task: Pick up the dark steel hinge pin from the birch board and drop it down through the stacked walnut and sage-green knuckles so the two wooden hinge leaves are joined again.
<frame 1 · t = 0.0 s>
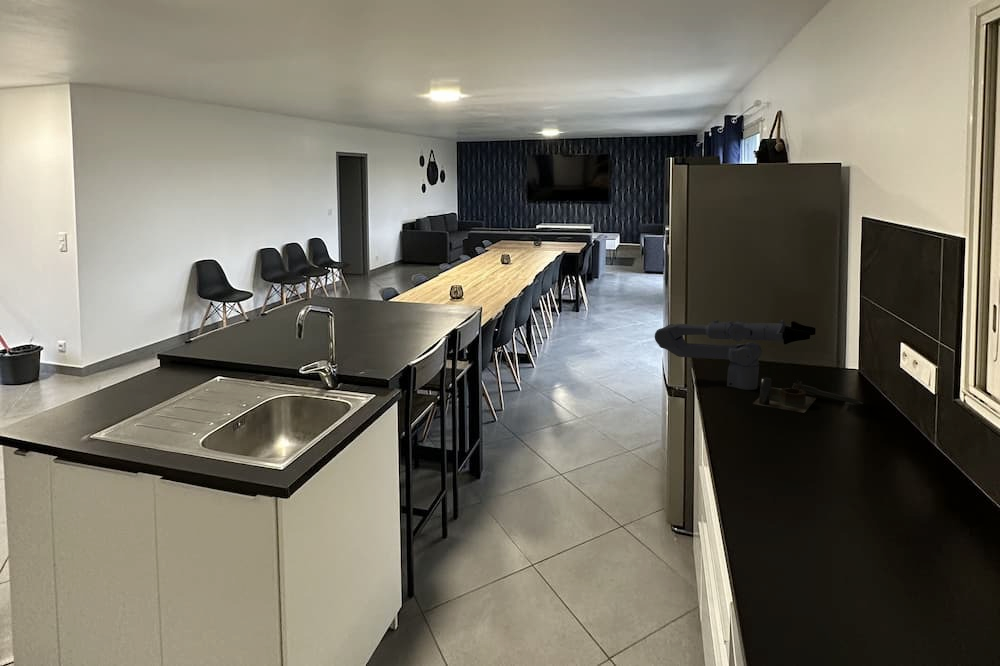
hand: (812, 333, 203), 22 cm above the countertop, tool horizontal, fingers open, 7 cm apart
steel pin: (764, 403, 201), point 1 cm above the countertop, touching hinge base
caliper: (826, 402, 204), on the countertop, touching hinge base
hinge base: (784, 403, 204), on the countertop
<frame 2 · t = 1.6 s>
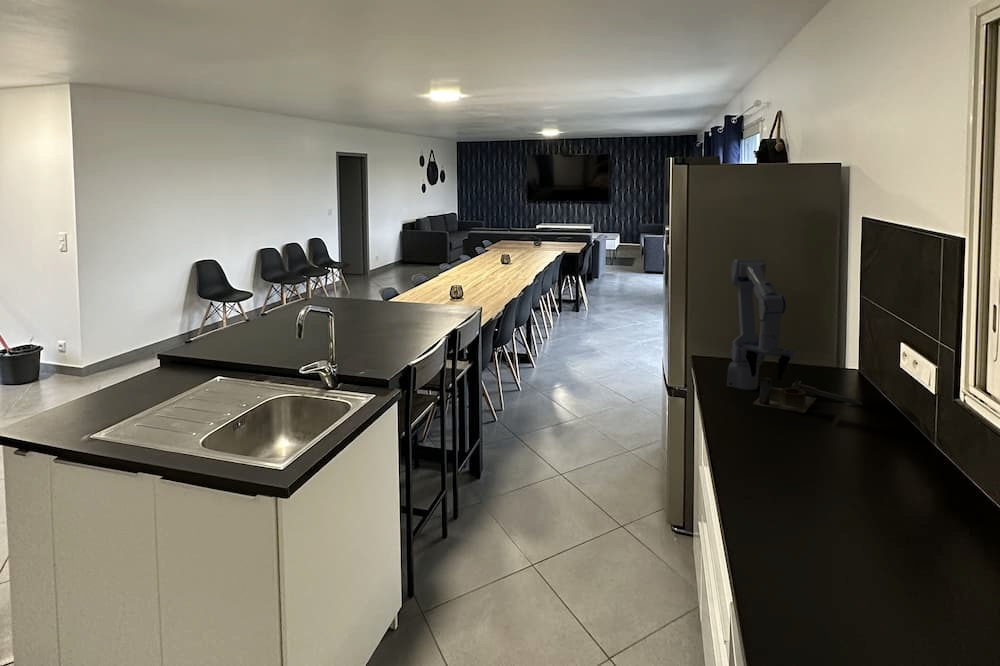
hand: (766, 377, 199), 9 cm above the countertop, tool pointing down, fingers open, 7 cm apart
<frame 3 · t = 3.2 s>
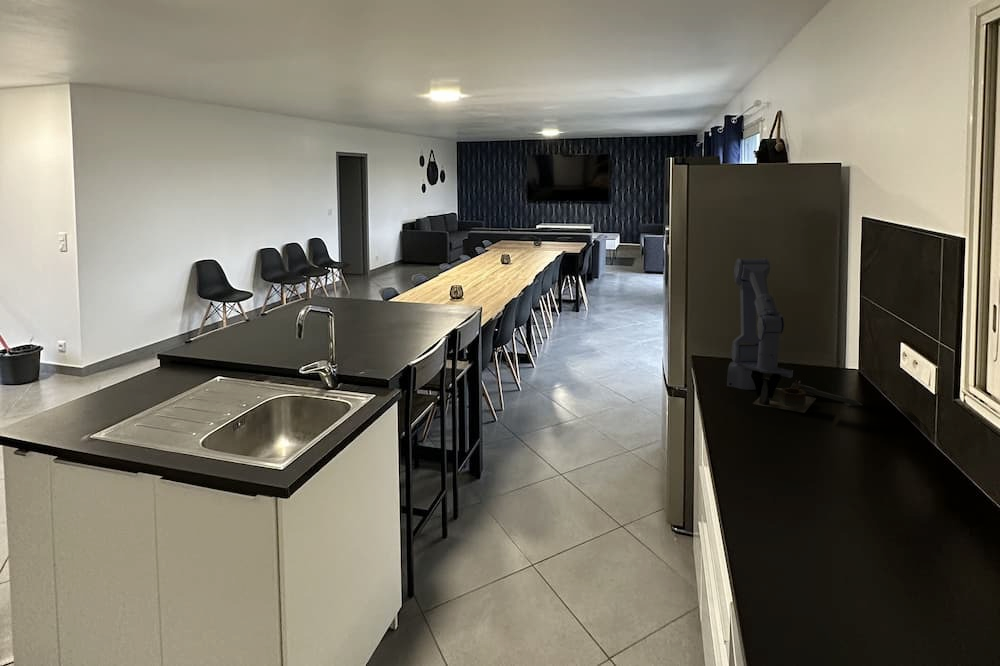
hand: (764, 396, 200), 3 cm above the countertop, tool pointing down, fingers closed on steel pin, 3 cm apart
steel pin: (764, 403, 201), point 1 cm above the countertop, touching gripper, hinge base
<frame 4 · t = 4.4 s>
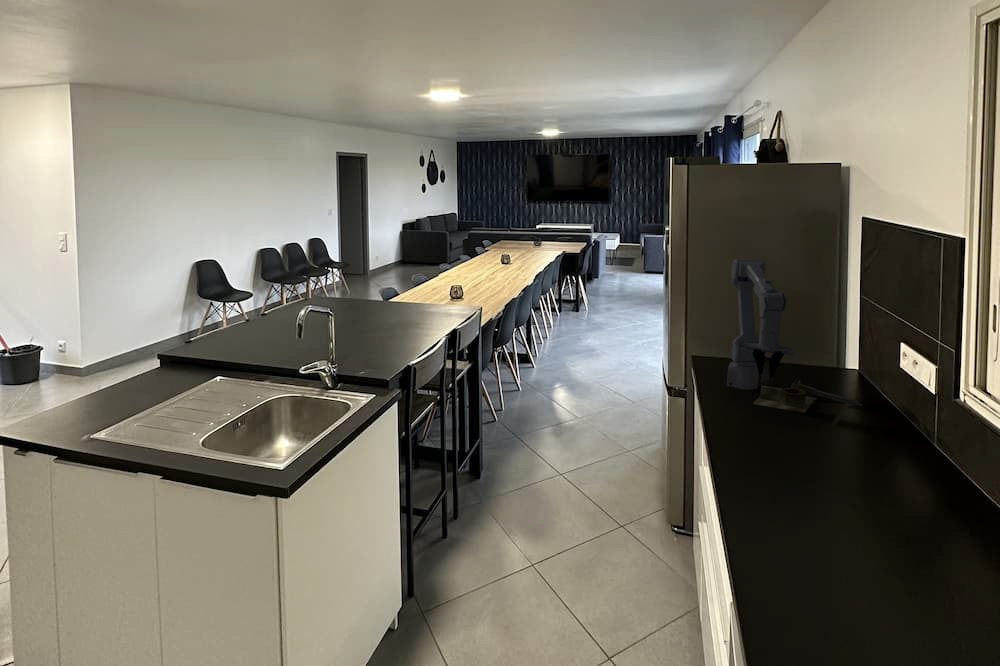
hand: (766, 375, 199), 10 cm above the countertop, tool pointing down, fingers closed on steel pin, 3 cm apart
steel pin: (765, 382, 199), point 8 cm above the countertop, touching gripper
when the fingers open (6 cm above the countertop, at t = 7.1 s): steel pin drops 3 cm, resting on hinge base.
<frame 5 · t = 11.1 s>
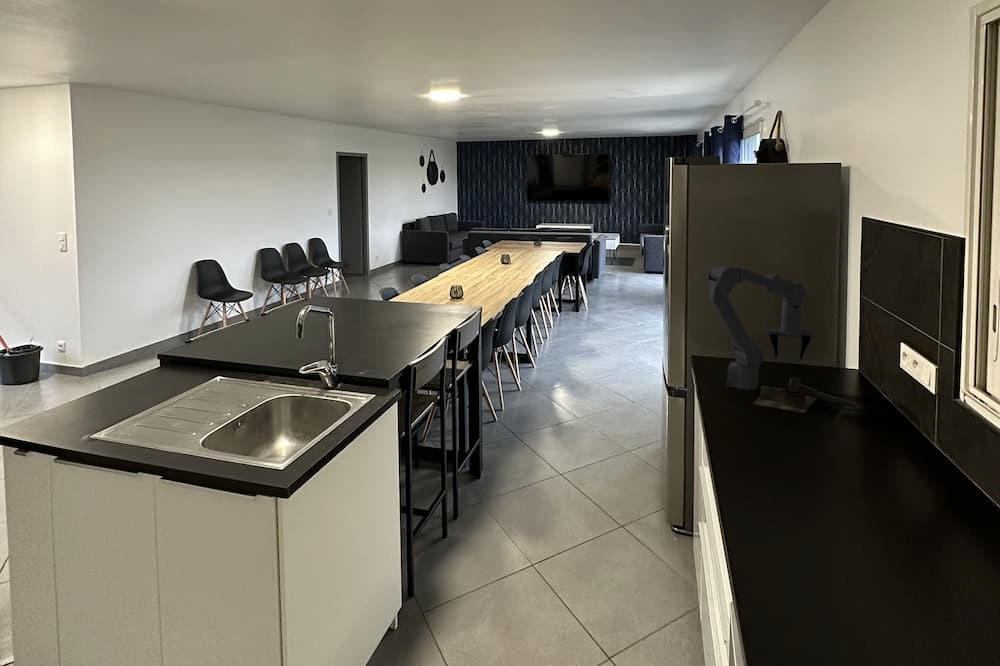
hand: (788, 357, 218), 10 cm above the countertop, tool pointing down, fingers open, 7 cm apart
steel pin: (791, 403, 201), point 1 cm above the countertop, touching hinge base
caliper: (824, 404, 202), on the countertop, touching hinge base
at the end: steel pin 0.1 cm from the target spot on the hinge base, point 1.0 cm above the hinge base's base; steel pin tilted 0°; the gripper is holding nothing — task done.
